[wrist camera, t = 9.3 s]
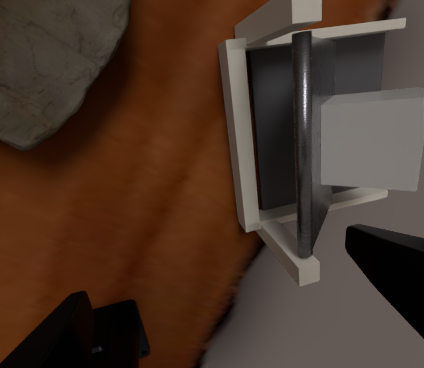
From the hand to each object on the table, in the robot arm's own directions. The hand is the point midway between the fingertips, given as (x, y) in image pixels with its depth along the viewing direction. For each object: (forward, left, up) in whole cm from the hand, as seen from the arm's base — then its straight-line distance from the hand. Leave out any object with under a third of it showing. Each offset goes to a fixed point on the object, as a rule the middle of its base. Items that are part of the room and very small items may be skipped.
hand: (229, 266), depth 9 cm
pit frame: (+1, -11, -13) cm, 17 cm away
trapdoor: (+1, -8, -9) cm, 12 cm away
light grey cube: (+1, -10, -9) cm, 13 cm away
